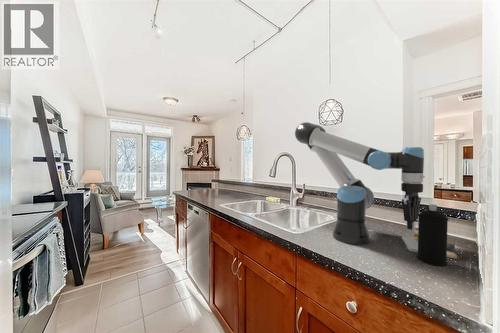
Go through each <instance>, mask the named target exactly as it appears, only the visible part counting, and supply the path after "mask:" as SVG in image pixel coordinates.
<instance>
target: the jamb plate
mask: <svg viewBox="0 0 500 333" xmlns="http://www.w3.org/2000/svg"><path fill="white" fill-rule="evenodd" d="M401 239H402V241H403V242H404V244H405V246H406V248H407V249H408V251H409V252H413V253H418V241H417V240H416V239H414V238H413V237H410V236H403V235H402V236H401Z"/></svg>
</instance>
